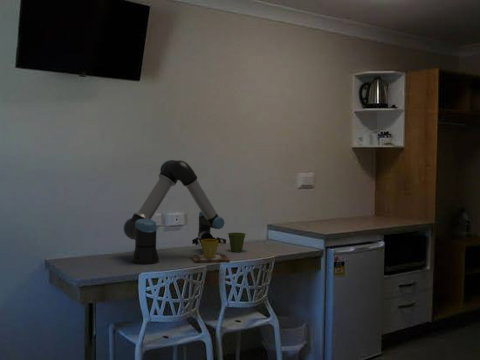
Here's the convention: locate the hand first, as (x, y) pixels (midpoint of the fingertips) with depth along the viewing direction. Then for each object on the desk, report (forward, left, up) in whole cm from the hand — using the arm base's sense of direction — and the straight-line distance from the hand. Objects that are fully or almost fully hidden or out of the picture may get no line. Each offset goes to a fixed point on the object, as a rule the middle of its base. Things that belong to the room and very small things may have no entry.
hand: (211, 243), depth 295 cm
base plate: (0, +1, -10) cm, 10 cm away
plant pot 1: (-1, +1, -8) cm, 8 cm away
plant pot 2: (+21, +28, -10) cm, 36 cm away
